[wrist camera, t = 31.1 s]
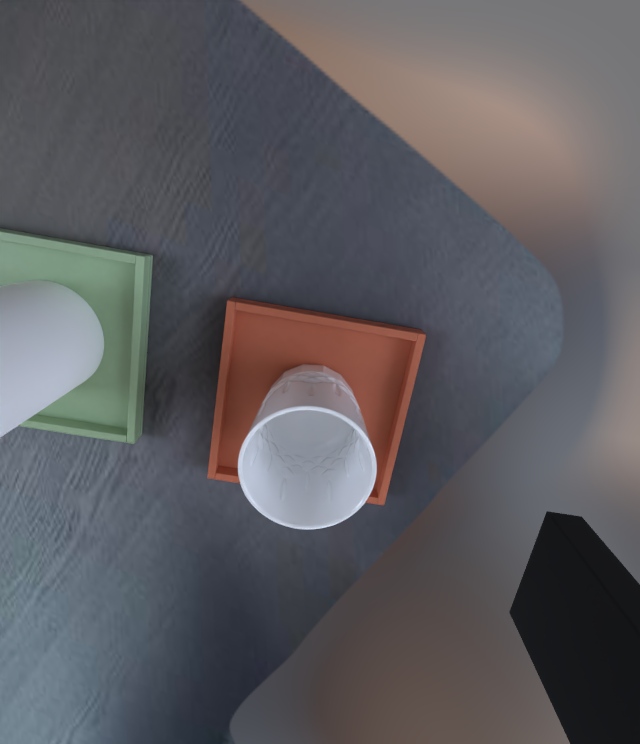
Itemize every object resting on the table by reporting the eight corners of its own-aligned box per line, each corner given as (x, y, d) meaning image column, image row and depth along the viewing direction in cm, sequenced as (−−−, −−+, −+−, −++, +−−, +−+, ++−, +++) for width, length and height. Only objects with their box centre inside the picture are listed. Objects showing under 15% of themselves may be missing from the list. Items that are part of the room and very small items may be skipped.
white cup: (381, 416, 36) (403, 485, 27) (300, 468, 37) (292, 551, 28) (323, 335, 34) (323, 378, 25) (239, 393, 36) (209, 456, 26)
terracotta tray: (421, 329, 34) (426, 334, 33) (381, 493, 39) (384, 505, 37) (231, 296, 34) (226, 300, 32) (211, 467, 38) (207, 478, 36)
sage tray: (153, 254, 33) (144, 256, 31) (142, 434, 37) (134, 444, 36) (-52, 219, 32) (-72, 218, 31) (-39, 406, 37) (-56, 414, 35)
